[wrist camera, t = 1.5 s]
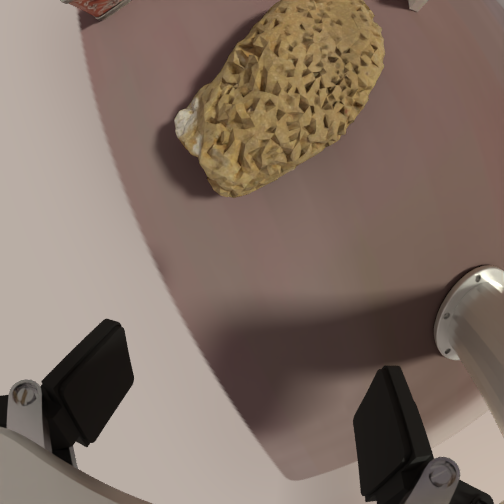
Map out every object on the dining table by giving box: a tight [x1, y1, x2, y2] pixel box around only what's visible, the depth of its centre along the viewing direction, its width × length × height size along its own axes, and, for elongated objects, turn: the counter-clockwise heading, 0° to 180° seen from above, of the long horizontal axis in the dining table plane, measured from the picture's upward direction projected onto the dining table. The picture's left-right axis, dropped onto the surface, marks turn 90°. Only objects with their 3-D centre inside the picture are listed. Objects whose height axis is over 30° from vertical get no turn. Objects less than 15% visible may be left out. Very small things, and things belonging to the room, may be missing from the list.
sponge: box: [174, 0, 385, 198], centre depth 18 cm, size 13×8×20 cm
